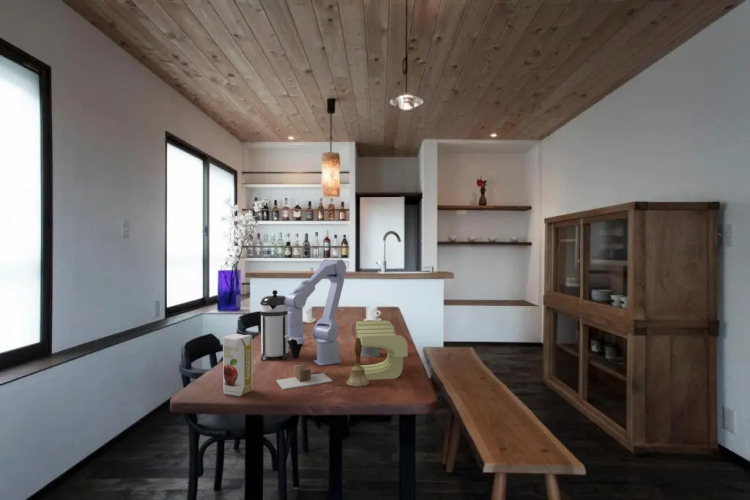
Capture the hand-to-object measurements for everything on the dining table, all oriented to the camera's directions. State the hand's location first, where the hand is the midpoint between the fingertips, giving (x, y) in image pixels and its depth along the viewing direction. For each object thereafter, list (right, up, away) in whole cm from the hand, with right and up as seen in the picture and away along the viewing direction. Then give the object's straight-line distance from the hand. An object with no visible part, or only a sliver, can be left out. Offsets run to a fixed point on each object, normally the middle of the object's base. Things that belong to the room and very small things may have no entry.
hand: (295, 358), depth 154 cm
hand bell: (+25, -5, -13) cm, 29 cm away
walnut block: (+3, -3, -6) cm, 7 cm away
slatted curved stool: (+33, -5, -2) cm, 33 cm away
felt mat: (+5, -5, -11) cm, 13 cm away
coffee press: (-14, -6, +24) cm, 28 cm away
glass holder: (+27, -6, +27) cm, 38 cm away
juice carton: (-15, -6, -21) cm, 27 cm away
